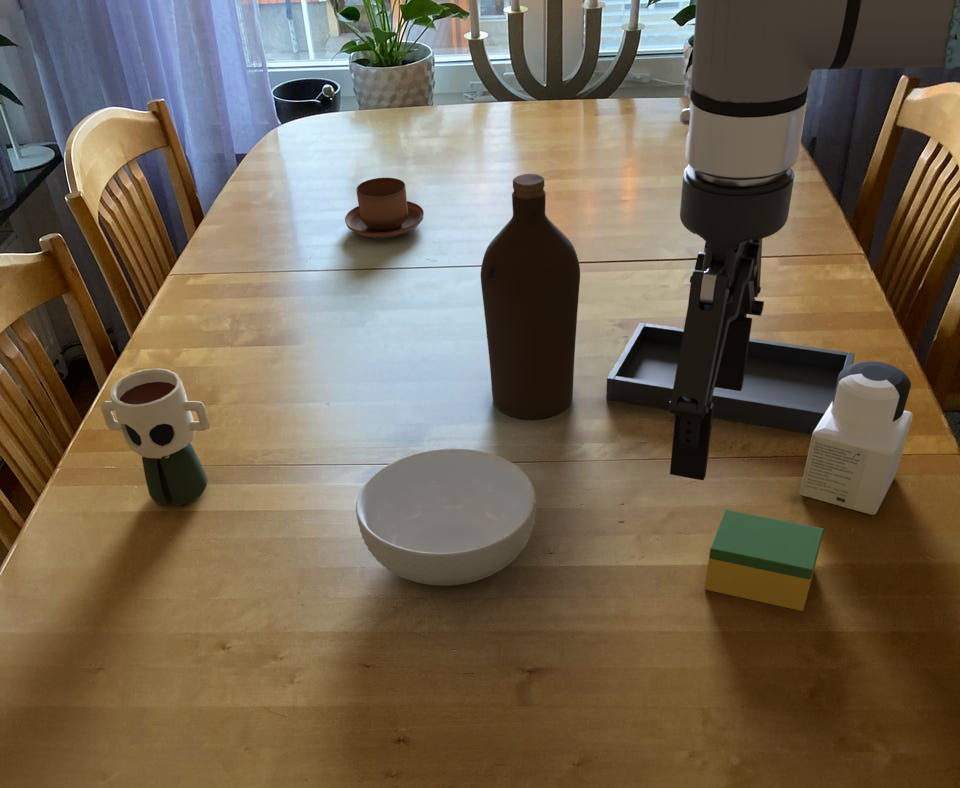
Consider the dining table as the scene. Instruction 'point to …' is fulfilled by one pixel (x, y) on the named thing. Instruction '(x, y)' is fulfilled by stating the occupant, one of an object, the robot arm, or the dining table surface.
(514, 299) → the olive oil
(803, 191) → the dining table surface
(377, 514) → the cereal bowl
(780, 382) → the tray
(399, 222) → the cup and saucer
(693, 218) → the robot arm
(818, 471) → the container
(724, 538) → the sponge
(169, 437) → the character mug
